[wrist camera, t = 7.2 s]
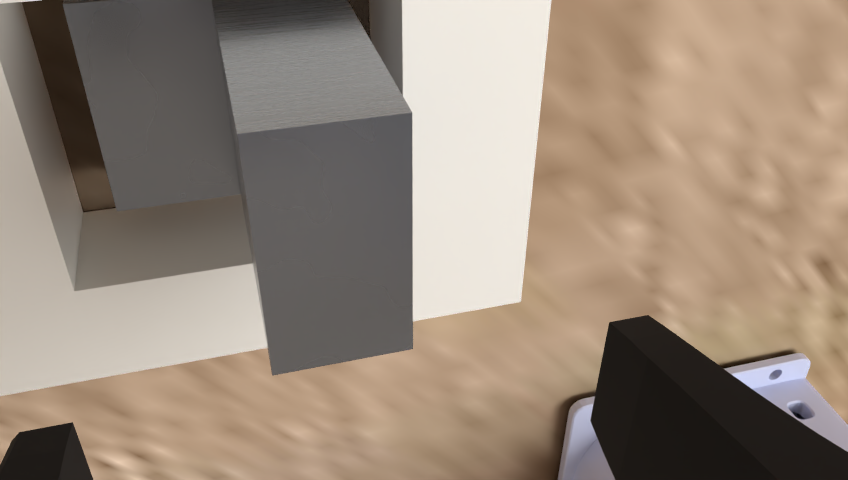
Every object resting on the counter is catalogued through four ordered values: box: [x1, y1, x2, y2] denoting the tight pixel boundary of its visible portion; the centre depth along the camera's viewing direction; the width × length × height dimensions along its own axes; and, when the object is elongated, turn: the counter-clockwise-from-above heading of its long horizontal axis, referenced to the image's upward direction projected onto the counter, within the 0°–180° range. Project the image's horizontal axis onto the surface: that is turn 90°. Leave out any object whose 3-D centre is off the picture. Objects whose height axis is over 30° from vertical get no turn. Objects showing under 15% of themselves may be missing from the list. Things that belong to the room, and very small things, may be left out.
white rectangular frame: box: [0, 0, 551, 396], centre depth 17 cm, size 13×11×3 cm
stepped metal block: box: [63, 0, 413, 375], centre depth 15 cm, size 5×4×8 cm
